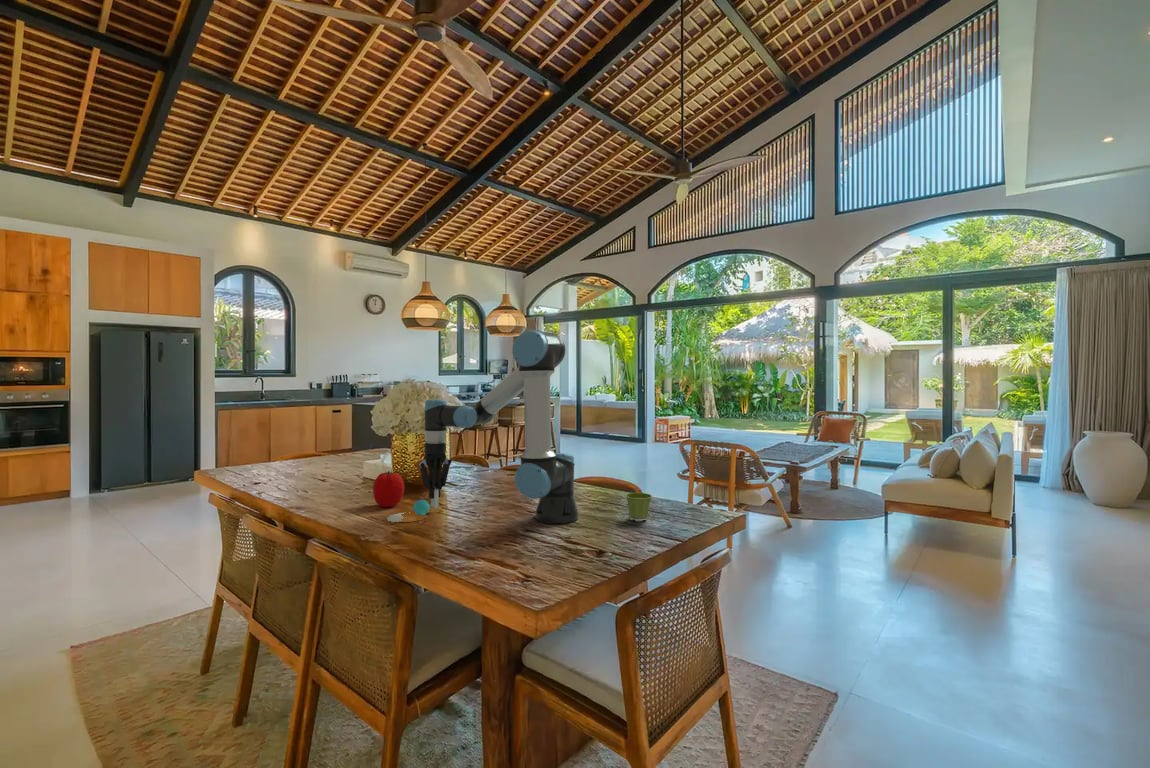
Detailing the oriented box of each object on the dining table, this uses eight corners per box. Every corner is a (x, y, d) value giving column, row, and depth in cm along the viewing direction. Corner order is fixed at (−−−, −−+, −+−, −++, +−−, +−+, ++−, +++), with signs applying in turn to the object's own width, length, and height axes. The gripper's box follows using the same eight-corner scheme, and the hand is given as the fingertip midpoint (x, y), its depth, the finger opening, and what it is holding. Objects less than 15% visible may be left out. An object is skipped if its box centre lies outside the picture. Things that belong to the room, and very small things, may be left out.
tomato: (364, 508, 197) (364, 472, 196) (388, 501, 208) (388, 467, 208) (389, 511, 192) (389, 475, 192) (411, 504, 203) (412, 469, 203)
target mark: (433, 514, 189) (433, 513, 189) (413, 524, 177) (413, 523, 177) (400, 511, 192) (400, 511, 192) (379, 521, 180) (379, 520, 180)
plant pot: (624, 523, 182) (624, 497, 182) (625, 515, 192) (625, 491, 191) (652, 524, 181) (652, 499, 181) (651, 517, 191) (651, 492, 190)
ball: (423, 496, 186) (412, 509, 184) (434, 506, 188) (423, 519, 185) (419, 496, 191) (408, 508, 188) (430, 505, 192) (419, 518, 190)
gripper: (445, 439, 199) (444, 502, 200) (413, 442, 190) (412, 508, 190) (456, 441, 194) (455, 505, 195) (424, 444, 185) (424, 512, 185)
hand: (434, 506), depth 192 cm, fingers closed
